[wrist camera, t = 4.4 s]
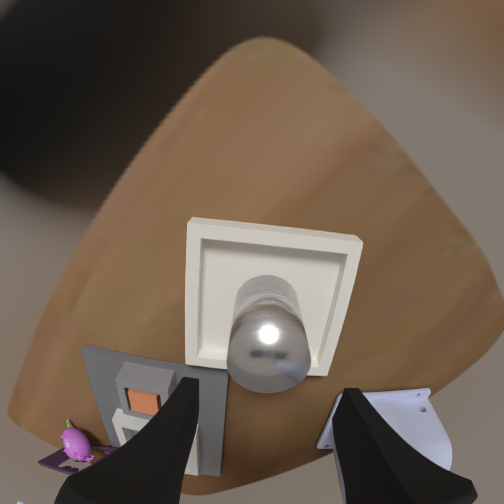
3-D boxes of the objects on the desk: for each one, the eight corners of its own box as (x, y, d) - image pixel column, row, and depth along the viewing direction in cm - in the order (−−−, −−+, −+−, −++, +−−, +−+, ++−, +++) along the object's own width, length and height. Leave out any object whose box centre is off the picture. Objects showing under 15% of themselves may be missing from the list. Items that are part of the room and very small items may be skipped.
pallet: (228, 370, 22) (225, 397, 19) (220, 471, 27) (218, 492, 24) (85, 344, 22) (69, 366, 19) (118, 451, 27) (111, 470, 24)
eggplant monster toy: (41, 469, 21) (84, 483, 19) (21, 430, 22) (59, 438, 19) (77, 449, 27) (123, 455, 25) (60, 413, 28) (104, 414, 26)
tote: (356, 235, 18) (363, 242, 17) (323, 363, 22) (326, 375, 20) (192, 217, 18) (187, 222, 17) (189, 351, 21) (185, 363, 20)
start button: (161, 381, 21) (156, 397, 19) (164, 400, 22) (158, 416, 20) (134, 376, 21) (127, 391, 19) (138, 395, 22) (131, 410, 20)
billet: (302, 278, 19) (319, 333, 13) (292, 331, 20) (301, 395, 14) (237, 271, 19) (229, 325, 13) (232, 326, 20) (224, 389, 14)
